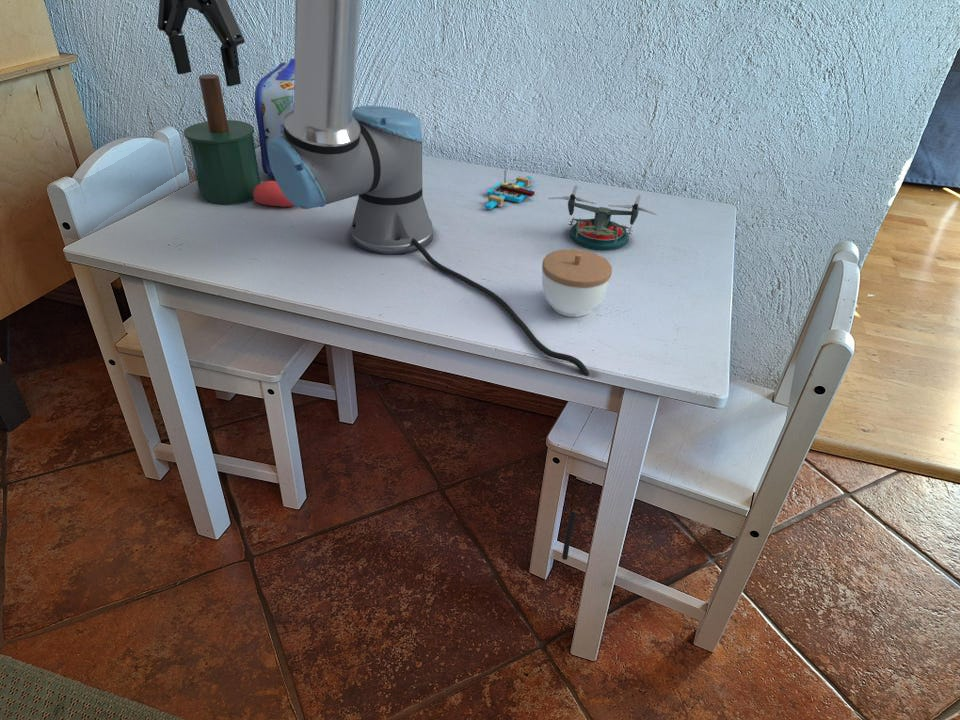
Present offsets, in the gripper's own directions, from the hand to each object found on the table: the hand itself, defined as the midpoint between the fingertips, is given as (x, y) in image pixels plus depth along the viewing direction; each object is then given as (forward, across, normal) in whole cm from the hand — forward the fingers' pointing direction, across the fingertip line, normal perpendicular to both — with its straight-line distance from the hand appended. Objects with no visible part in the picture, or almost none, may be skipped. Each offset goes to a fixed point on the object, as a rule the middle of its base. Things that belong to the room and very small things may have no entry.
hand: (208, 78), depth 124 cm
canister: (+23, 0, 0) cm, 23 cm away
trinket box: (+22, -79, +1) cm, 82 cm away
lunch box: (+23, +1, -20) cm, 31 cm away
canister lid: (+10, 0, 0) cm, 10 cm away
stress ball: (+23, -12, -1) cm, 26 cm away
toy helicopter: (+22, -73, -24) cm, 80 cm away
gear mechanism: (+23, -49, -34) cm, 64 cm away
